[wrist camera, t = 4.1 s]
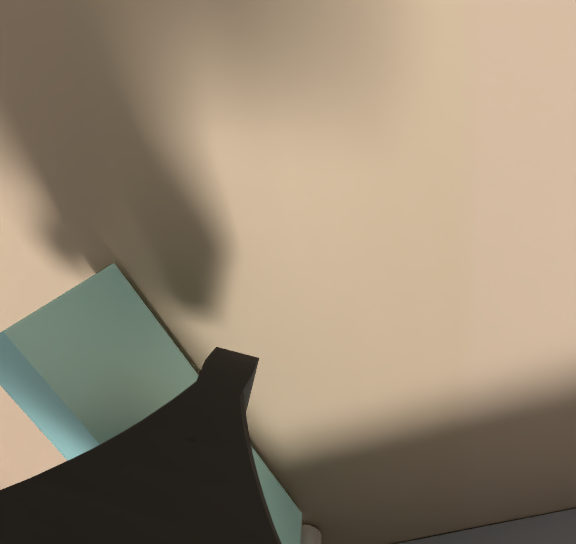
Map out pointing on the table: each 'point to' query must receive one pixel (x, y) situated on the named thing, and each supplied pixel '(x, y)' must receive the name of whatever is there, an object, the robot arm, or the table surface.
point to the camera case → (515, 532)
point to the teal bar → (109, 377)
